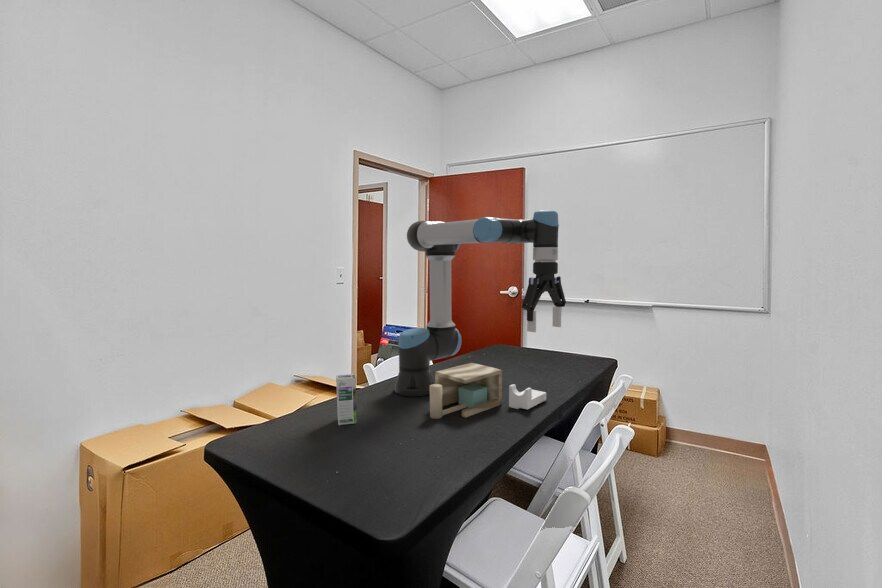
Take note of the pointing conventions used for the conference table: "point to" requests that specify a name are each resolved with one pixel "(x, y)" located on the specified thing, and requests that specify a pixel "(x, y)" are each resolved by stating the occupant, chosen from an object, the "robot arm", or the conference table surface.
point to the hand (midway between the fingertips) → (544, 329)
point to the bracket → (525, 397)
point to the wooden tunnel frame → (468, 375)
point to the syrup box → (346, 399)
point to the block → (467, 398)
